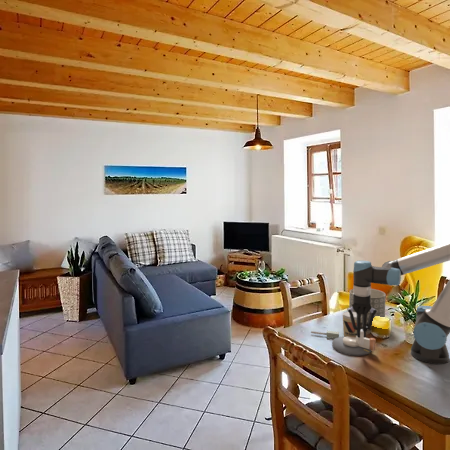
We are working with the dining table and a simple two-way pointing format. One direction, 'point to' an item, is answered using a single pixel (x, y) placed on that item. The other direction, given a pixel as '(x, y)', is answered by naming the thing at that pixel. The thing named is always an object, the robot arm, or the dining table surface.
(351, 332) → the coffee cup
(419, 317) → the robot arm
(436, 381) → the dining table surface
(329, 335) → the screwdriver
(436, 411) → the dining table surface
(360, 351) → the dark grey round plate
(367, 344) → the cream rounded piece
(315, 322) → the dining table surface
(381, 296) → the planter
